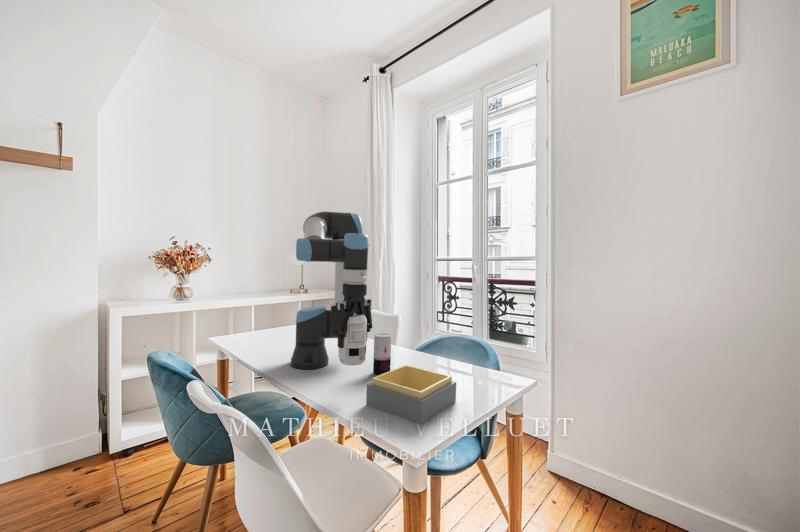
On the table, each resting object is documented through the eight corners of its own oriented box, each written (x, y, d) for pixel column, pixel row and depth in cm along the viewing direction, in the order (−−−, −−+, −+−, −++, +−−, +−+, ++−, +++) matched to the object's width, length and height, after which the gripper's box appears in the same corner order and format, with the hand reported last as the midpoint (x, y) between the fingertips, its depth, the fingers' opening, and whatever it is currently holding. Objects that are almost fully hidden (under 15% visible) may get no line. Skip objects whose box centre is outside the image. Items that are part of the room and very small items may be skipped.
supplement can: (335, 364, 109) (336, 316, 108) (345, 356, 117) (346, 311, 116) (360, 367, 107) (361, 318, 107) (368, 359, 115) (370, 313, 115)
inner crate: (371, 404, 106) (372, 378, 106) (404, 388, 120) (405, 364, 120) (420, 421, 96) (421, 392, 96) (450, 401, 110) (451, 376, 110)
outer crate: (366, 407, 106) (366, 384, 106) (404, 388, 122) (404, 368, 122) (421, 427, 94) (422, 401, 94) (455, 404, 110) (456, 381, 110)
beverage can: (389, 371, 141) (390, 333, 140) (390, 376, 134) (392, 337, 134) (372, 371, 140) (373, 333, 139) (373, 376, 133) (374, 337, 133)
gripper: (338, 286, 100) (336, 365, 101) (385, 282, 117) (382, 349, 118) (320, 283, 105) (318, 359, 106) (368, 280, 122) (365, 345, 123)
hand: (352, 354), depth 112 cm, fingers closed on supplement can, 8 cm apart
